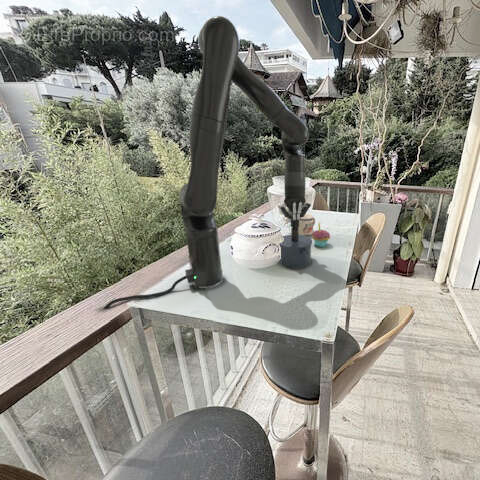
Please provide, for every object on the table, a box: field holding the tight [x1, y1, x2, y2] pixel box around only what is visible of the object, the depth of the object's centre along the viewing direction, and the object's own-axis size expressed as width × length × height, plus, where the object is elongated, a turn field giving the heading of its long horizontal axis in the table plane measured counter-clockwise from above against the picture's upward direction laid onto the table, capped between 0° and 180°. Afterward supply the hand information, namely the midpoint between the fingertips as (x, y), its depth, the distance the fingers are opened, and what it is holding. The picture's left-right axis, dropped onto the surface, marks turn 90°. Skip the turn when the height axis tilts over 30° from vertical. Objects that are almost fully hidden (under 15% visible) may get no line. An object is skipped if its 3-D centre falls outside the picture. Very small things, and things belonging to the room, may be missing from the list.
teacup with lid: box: [298, 213, 316, 237], centre depth 138 cm, size 12×9×12 cm
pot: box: [278, 244, 312, 269], centre depth 106 cm, size 13×18×8 cm
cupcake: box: [311, 222, 331, 248], centre depth 122 cm, size 9×8×12 cm
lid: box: [278, 227, 313, 249], centre depth 103 cm, size 14×14×6 cm
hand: (294, 228), depth 102 cm, fingers closed
